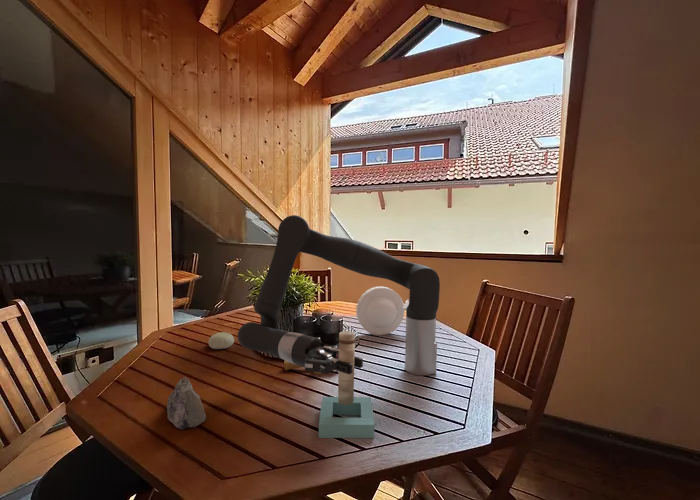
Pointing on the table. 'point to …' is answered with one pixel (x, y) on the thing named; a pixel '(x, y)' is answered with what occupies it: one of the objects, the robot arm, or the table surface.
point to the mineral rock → (185, 406)
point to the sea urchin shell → (221, 340)
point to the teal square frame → (346, 419)
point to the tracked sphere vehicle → (380, 310)
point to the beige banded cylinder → (347, 356)
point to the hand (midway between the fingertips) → (356, 366)
